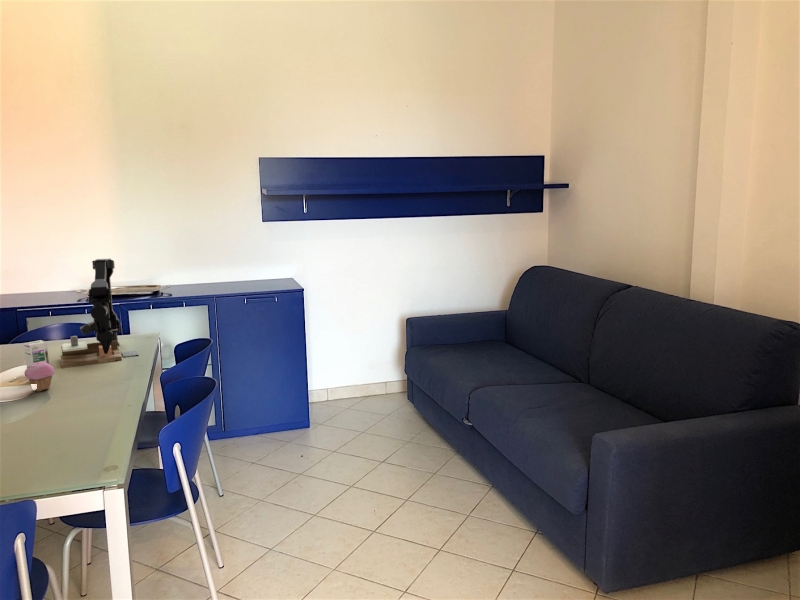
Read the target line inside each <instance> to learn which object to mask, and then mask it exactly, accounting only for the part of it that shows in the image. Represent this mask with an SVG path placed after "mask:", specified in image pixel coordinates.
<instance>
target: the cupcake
mask: <svg viewBox="0 0 800 600" xmlns="http://www.w3.org/2000/svg"><path fill="white" fill-rule="evenodd" d="M54 374H55V368H54V367H53V365H51V364H50V363H49V364H48V363H46V362H37V363H33V364H31V365H30V366H29V367H28V368H27V367H26V369H25V371H24V377H25V378H27V379H29V380H28V381H29V384H37V389H36V391H35V392H42V391H44V390H49V389H50V387H51V383H52V378H53V375H54Z"/></svg>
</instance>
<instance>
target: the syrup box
mask: <svg viewBox="0 0 800 600" xmlns="http://www.w3.org/2000/svg"><path fill="white" fill-rule="evenodd" d="M47 344H48V343H47V341H45V340H41V339H40V340H35V341H29V342H24V343H23V349H24V357H25V365H26V369H27V368H28V367H29V366H30V365H31V364H33V363H37V362H46V363H48V364H50V360H49V351H48V345H47Z"/></svg>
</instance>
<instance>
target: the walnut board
mask: <svg viewBox="0 0 800 600" xmlns="http://www.w3.org/2000/svg"><path fill="white" fill-rule="evenodd" d="M99 346H102V344H101V342H99V341H97V342H89V343H87V348H88V349H84V350H76V351H67V352H62V351H61V355H60V367H61V368H62V369H63V368H68V367H77V366H85V365H94V364H100V363H109V362H108V361H110V362H116V361H115V360H118V361H123V359H122V358H123V355H121V354H122V353H121V351H120V349H119V348H118V346H117V340H115V341H112V342H111V350H112V355H109V356H100V354H99ZM61 349H62V345H61ZM113 354H114V355H113Z"/></svg>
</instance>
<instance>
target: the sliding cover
mask: <svg viewBox="0 0 800 600" xmlns="http://www.w3.org/2000/svg"><path fill="white" fill-rule="evenodd" d="M87 344H88V343H87V341H79V338H78V335H72V336H71V335H70V342H69V343H67V342H66V343H61V346H62V348H61V353H62V352H67V351H76V350H84V349H88V348H87Z"/></svg>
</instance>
